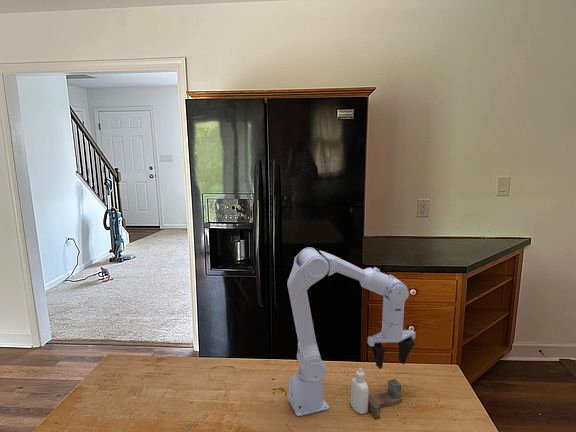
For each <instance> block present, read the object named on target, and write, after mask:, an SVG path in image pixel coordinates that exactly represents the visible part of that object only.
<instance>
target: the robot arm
mask: <svg viewBox="0 0 576 432" xmlns="http://www.w3.org/2000/svg"><path fill="white" fill-rule="evenodd" d="M335 273H338V274H341V275H344V276H346V277H348V278H351V279H353V280H356V281H359V284H360V286H361V287H362V288H363V289H367V290H368V291H371V292H373V293H376V294H378V295H381V296H383V298H382V299H383V300H382V319H381V331H380V332H378V333H376V334H373V335H371V336H367V344H368V345H369V347H370V349H371V351H372V354H373V357H374V360H375V361H374V362H375V366H376V367H377V368H378V369H379V370H382V369H383V365H384V364H383V363H384V356H385V353H386V352H385V351H386V348H384V347H383V344H385V343H397V345H398V361H399V362H400V364H402V365H405V364H406V362H407V358H408V356H409V353H410V352H411V350H412V349H413V348H414V346H415V343H416V342H415V341H414V340H415V339H416V335H417V334H416V331H415V330H412V329H404V317H405V315H404V314H405V306H406V305H405V303H406V300H408V298H409V296H410V291H409V289H408V287H407V284H405V283H404V282H402V281H401V280H399V279H398V278H397V277H395V276H393V275H392V274H386V273H384V272H381V269H379V268H377V267H376V266H373V268H372V267H366V268H365V269H363V268H360V267H358V266H356V265H355V264H352V263H351V262H348V261H346V260H344V259H342V258H340V257H338V256H336V255H334V254H331V253H328V252H326V251H323V250H319V251H318V250H317V249H316V248H314V247H305V248H303V249H302V250H301V251H299V253H298V254H297V255H296V256H295V257H294V259H293V266H292V268H291V272H290V274H289V277H288V278H287V285H286V286H287V289H288V290H287V291H288V295H289V300H290V301H289V302H290V304H291V310H292V315H293V322H294V326H295V332H296V336H297V353H296V360H297V362H298V364H299V368H298V371H297V373H296V374H294V375H293V376H291V377H289V379H288V397H287V400H288V402H289V404H290V406H291V408H292V410H293V412H294V413H295V416H297V417H301V416H306V415H311V414H314V413H315V414H316V413H318V412H322V411H326V410H329V409H330V406H329V405H328V403H327V402H326V401H325V399H324V392H325V391H324V386H325V385H324V384H325V379H324V378H325V377H326V374H327V366H326V364H325V363H324V362H323V360H322V358H321V357H322V356H321V354H320V351H319V347H318V343H317V339H316V333H315V329H314V322H313V318H312V312H311V307H310V302H309V301H310V300H309V296H308V290H309V288H310V287H311V286H312V285H314V284H316V283H317V282H319V281H320V280H322V279H323V278H325V277H326V275H327V276H328V277H330V276H332V275H334V274H335Z"/></svg>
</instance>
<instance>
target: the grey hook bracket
mask: <svg viewBox="0 0 576 432" xmlns="http://www.w3.org/2000/svg"><path fill="white" fill-rule="evenodd" d="M402 401H403V399H402V383H400V381H398V380H397V379H396V378H393V379H390V380H387V391H386V392H382V393H381V392H380V393H378V394H373V395H371V394H369V395H368V412H369V413H370V414H371V416H372V417H374V419H379V418H381V410H382V409H381V408H383V407H388V406H392V405H394V404H400V403H402Z"/></svg>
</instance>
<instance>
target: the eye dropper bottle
mask: <svg viewBox="0 0 576 432" xmlns="http://www.w3.org/2000/svg"><path fill="white" fill-rule="evenodd" d="M365 376H366V372H365V371H363V368H362V367H359V368H358V370H356V372H355V377H353V378H352V379H351V385H350V386H351V387H350V389H351V390H350V404H351V407H352V409H354V411H355V412H357V413H358V414H360V415H363V414H366V413H368V412H369V410H368V395H370V393H369V391H370V389H369V385H368V383H367V381H366V377H365Z"/></svg>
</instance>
